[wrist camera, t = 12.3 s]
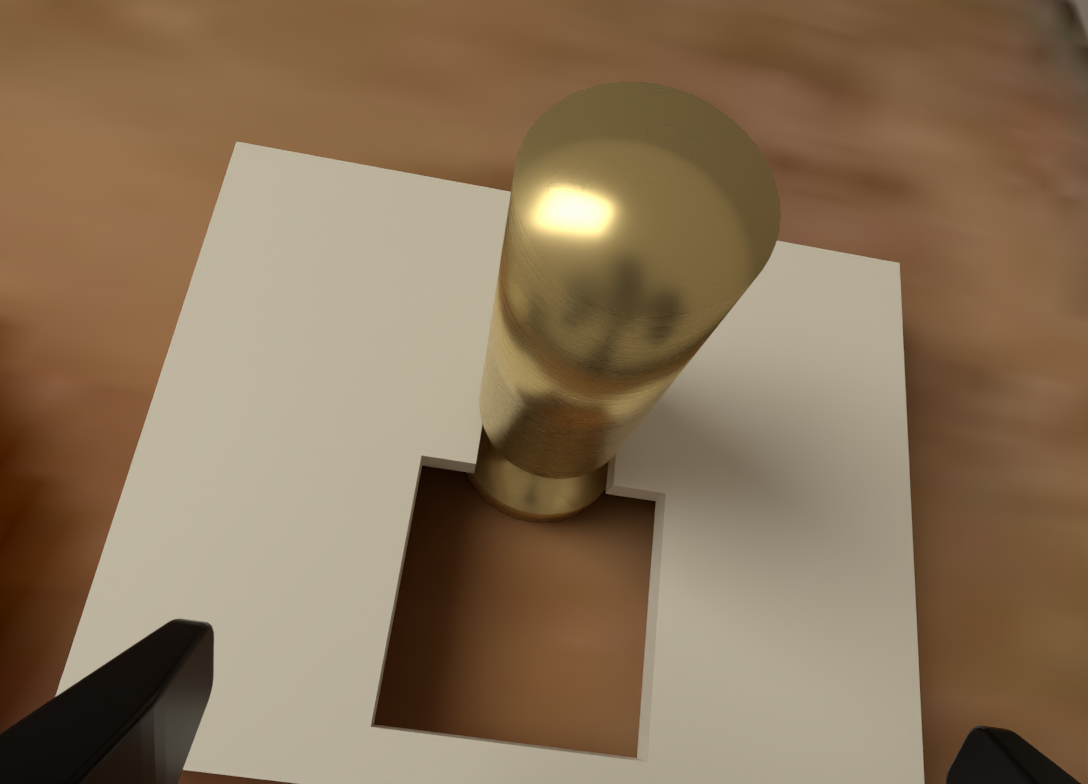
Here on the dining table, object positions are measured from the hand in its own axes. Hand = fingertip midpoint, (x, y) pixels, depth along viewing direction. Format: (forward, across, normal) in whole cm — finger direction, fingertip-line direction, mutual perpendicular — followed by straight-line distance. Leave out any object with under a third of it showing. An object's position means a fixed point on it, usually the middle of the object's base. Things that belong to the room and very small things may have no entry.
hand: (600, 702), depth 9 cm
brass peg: (+14, 0, +4) cm, 15 cm away
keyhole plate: (+13, 0, +5) cm, 14 cm away
